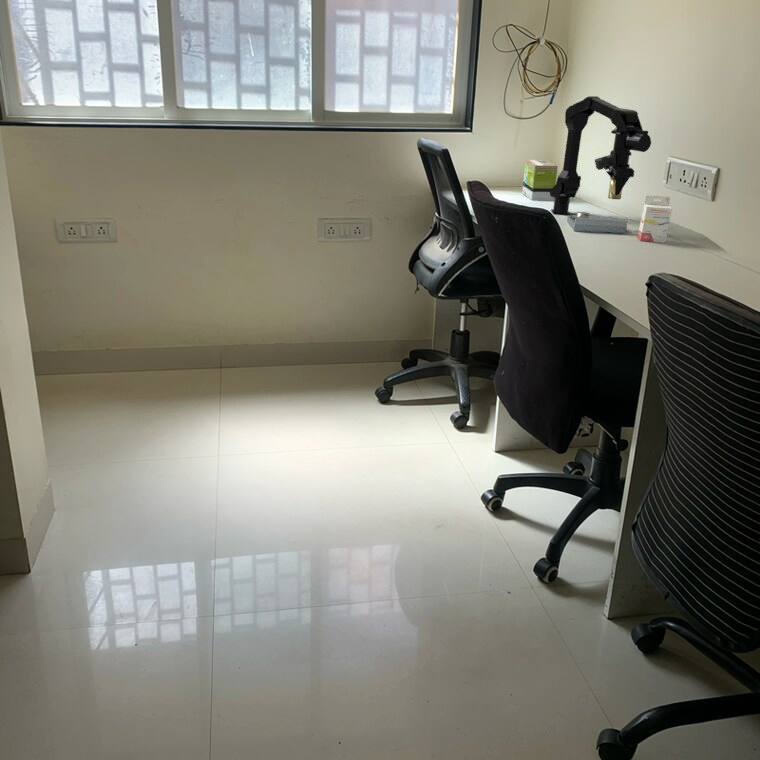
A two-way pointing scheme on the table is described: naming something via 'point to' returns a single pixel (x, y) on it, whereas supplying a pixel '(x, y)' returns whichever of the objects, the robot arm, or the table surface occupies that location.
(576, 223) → the jig plate
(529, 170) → the tea box
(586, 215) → the steel bushing
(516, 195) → the table surface
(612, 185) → the cylinder
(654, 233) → the ink cartridge box
